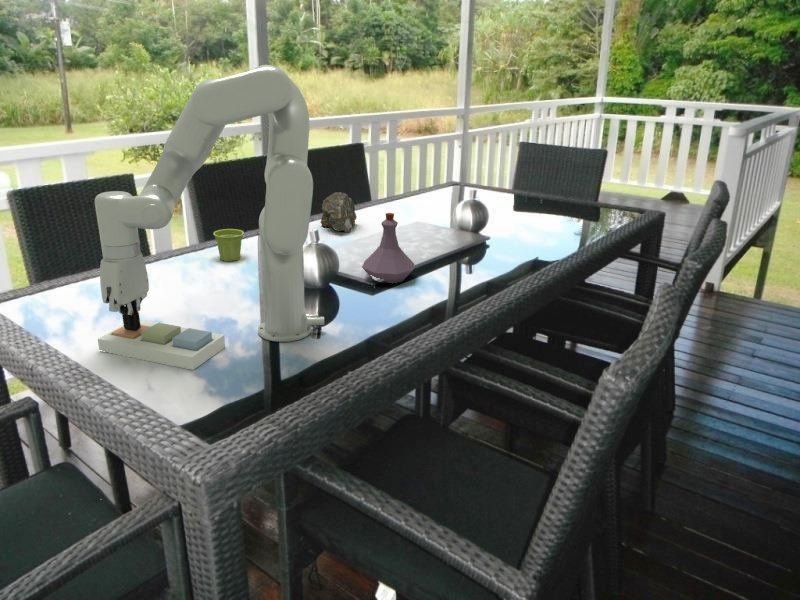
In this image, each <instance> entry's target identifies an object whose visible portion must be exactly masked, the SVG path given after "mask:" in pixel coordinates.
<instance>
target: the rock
mask: <svg viewBox="0 0 800 600" xmlns="http://www.w3.org/2000/svg"><path fill="white" fill-rule="evenodd" d="M321 210H322V216H321V219H320V224H321V226H322V227H325V228H332V229H333V230H334V231H337V232H339V231H340V232H341V231H343V232H346V233H347V232H350V231H351V230H352V229H353V227H354V226H356V220H357V219H358V218H357V214H356V211H355V210H356V207H355V204H354V202H353V199H352V198H351V197H349V195H348V194H347V193H345V192H341V191H339V192H337V191H336V192H333V193H331V194H330V195H328V196H327V197H326V198H325V199H323V203H322V204H321Z"/></svg>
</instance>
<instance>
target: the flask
mask: <svg viewBox="0 0 800 600" xmlns="http://www.w3.org/2000/svg"><path fill="white" fill-rule="evenodd" d="M394 216H395V213H394V212H387V213H386V212H385V220H383V221H381V227H382V228H383V229H382V236H381V240H380V243H379V246H378V247H377V248H376V249H375V250H374V251H373V253H371V254H370V255H368V257H367V258H366V259H365V260H364V262H363V263H362V265H361V268H362V269H363V270H364V272H366V274H367V275H368V274H369V275H372V276H374V277H376V278H380V279H384V280H385V281H386V282H388V283H392V284H391V285H394V284H393V283H395V284H399V283H402V282H403V281H405V279H407V277H409V275H410V274H411V273H412V272H413V271H414V269H415V262H414V261H413V260H411V258H409V256H408V255H407V254H406V253H405V252H404V251H403V250H402V248H401V247H400V246H399V242H398V237H397V234H396V233H397V232H396V228H397V226H398V224H399V222H398V221H396V220H395V219H394V218H395V217H394ZM369 275H368V276H369ZM398 282H399V283H398Z"/></svg>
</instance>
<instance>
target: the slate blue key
mask: <svg viewBox="0 0 800 600" xmlns="http://www.w3.org/2000/svg"><path fill="white" fill-rule="evenodd" d="M187 328H188V329H187V330H185V331H183V332H182V333H180V334H178V335H177V336H175V337H173V338H172V339H173V347H177V348H182V349H188V350H193V351H198V350H200V349H201V348H202V347H204V346H205V345H207V344H208V343H210V342H211V341H212V333H213V332H212V331H207V330H201V329H196V328H190V327H187Z"/></svg>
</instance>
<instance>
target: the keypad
mask: <svg viewBox="0 0 800 600" xmlns="http://www.w3.org/2000/svg"><path fill="white" fill-rule="evenodd" d="M157 323H158V322H156V321H150V320H149V321H148V320H143V319H140V325H144V326H149V327H152V326H153V325H155V324H157ZM123 326H124V324H123V325H121V326H119V327H118V328H116V329H113V330H111V331H109V332H108V333H105V334H104V335H102V336H101V337H99V338H97V343H98V349H99V350H102V351H105V352H104V353H106V352H110V353H109V354H111V353H114V354H113V355H116V354H118V355H117V356H121V355H123V356H122V357H126V356H127V358H131V357H132V359H137V360H143V361H147V362H150V363H151V362H153V363H157V364H162V365H167V366H171V367H172V366H173V367H175V368H176V367H177V368H182V369H187V370H191V371H194V370H195V369H197V368H198V367H199V366H201V365H202V364H204V363H205V362H206V361H208V360H209V359H211V358H212V357H213V356H215V355H216V354H218V353H219V352H221V351H222V350H223V349H225V348H226V340H225V339H226V338H225V334H222V333H216V332H212V341H211V342H210V343H208V344H207V345H205V346H204V347H202V348H201V349H200V350H198V351H193V350H188V349H182V348H177V347H173V340H172V341H171V342H169V343H168V344H166V345H161V344H156V343H151V342H146V341H142V335H141V336H139V337H137V338H135V339H130V338H125V337H120V336H114V335H112V332H114V331H115V330H117V329H119V328H121V327H123ZM180 327H181V333H182V332H183V331H185V330H187V329H188V328H189V327H182V326H180ZM99 350H98V351H99Z"/></svg>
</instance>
